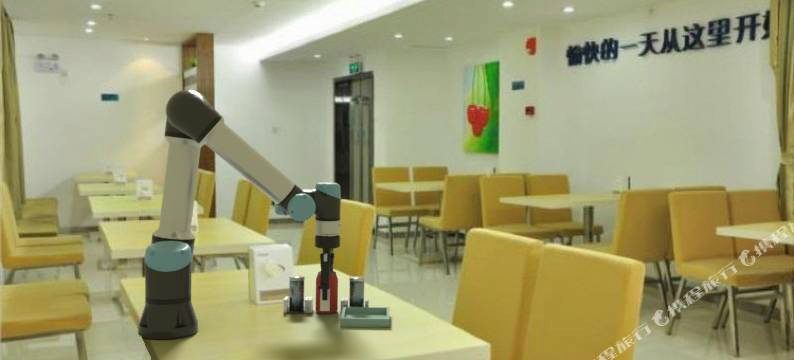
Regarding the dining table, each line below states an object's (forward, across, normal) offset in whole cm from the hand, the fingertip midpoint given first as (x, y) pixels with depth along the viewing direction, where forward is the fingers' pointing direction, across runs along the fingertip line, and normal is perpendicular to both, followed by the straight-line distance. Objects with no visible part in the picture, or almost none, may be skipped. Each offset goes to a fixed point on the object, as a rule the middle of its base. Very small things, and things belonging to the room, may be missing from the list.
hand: (326, 305), depth 211 cm
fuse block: (+2, 0, 0) cm, 2 cm away
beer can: (+2, 0, 0) cm, 2 cm away
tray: (+2, -10, -12) cm, 16 cm away
